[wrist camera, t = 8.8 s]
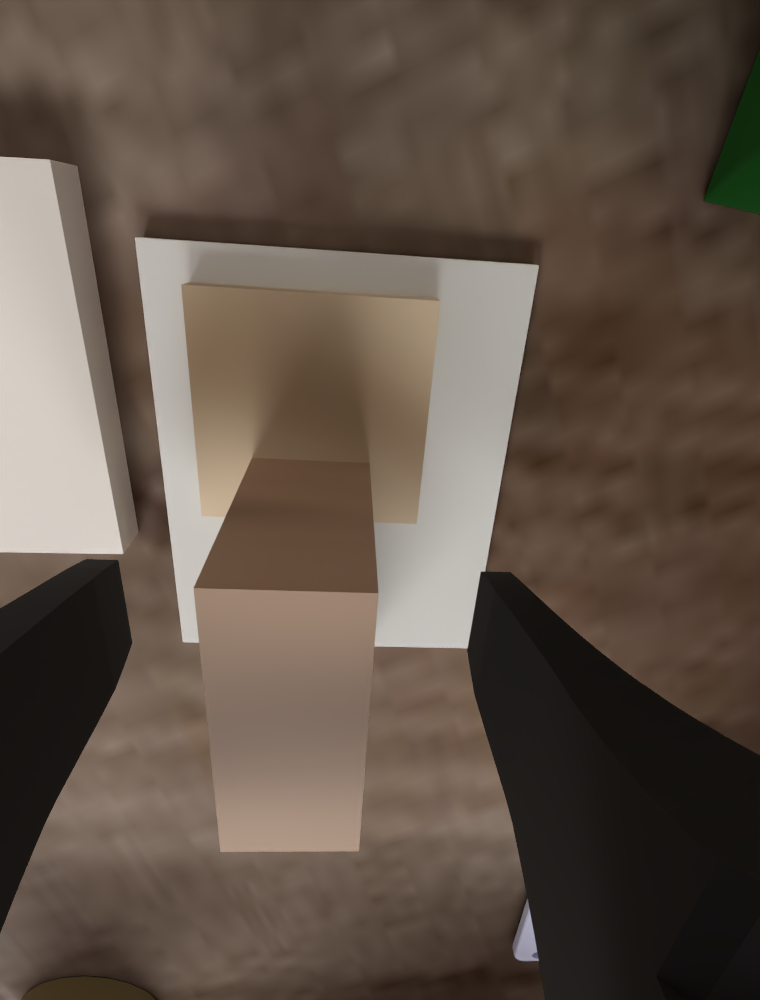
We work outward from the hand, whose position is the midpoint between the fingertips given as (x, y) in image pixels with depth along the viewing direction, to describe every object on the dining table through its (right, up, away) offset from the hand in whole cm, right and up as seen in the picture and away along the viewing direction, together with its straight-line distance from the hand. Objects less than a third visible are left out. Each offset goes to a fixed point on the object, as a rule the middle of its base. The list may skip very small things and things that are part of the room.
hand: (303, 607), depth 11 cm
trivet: (0, +3, +2) cm, 4 cm away
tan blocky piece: (0, +2, +2) cm, 3 cm away
